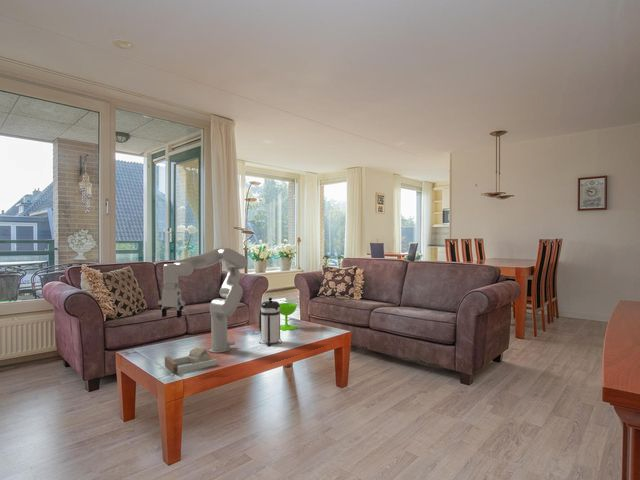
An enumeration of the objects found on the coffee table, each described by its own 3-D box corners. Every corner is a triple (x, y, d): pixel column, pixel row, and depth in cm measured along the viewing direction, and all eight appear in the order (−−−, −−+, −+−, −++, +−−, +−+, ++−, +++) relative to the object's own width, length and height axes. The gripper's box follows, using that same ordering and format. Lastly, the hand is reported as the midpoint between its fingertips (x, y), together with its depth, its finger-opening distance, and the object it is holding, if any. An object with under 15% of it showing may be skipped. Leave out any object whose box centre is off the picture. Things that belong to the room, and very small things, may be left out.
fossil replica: (208, 366, 203) (211, 362, 213) (210, 351, 204) (212, 347, 214) (185, 366, 201) (188, 362, 211) (186, 350, 202) (190, 346, 212)
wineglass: (280, 331, 279) (280, 307, 279) (272, 327, 293) (272, 304, 293) (300, 329, 287) (300, 305, 286) (291, 325, 301) (291, 302, 301)
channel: (206, 357, 218) (206, 349, 218) (217, 364, 205) (216, 355, 205) (164, 366, 204) (164, 356, 204) (173, 374, 192) (173, 364, 192)
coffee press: (284, 340, 255) (284, 295, 255) (279, 346, 240) (278, 299, 240) (259, 339, 258) (259, 295, 258) (252, 345, 242) (252, 299, 242)
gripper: (188, 285, 210) (189, 316, 210) (162, 284, 215) (163, 314, 215) (180, 287, 203) (180, 319, 203) (153, 286, 208) (153, 317, 208)
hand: (171, 317), depth 209 cm, fingers open, 9 cm apart
